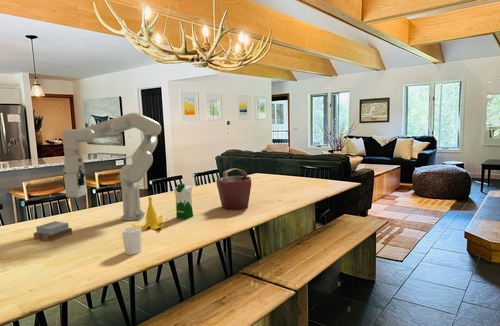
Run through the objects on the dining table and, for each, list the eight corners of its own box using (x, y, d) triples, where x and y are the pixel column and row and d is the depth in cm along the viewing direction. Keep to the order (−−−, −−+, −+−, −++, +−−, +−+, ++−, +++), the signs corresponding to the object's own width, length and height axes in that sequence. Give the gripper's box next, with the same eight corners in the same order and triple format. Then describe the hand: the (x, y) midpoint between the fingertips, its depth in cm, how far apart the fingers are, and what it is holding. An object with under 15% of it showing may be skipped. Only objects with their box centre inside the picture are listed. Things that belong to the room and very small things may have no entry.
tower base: (72, 234, 173) (71, 228, 172) (50, 241, 162) (49, 235, 162) (56, 231, 178) (56, 226, 177) (34, 238, 167) (33, 233, 166)
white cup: (126, 249, 149) (124, 227, 148) (144, 248, 150) (143, 226, 149) (121, 256, 141) (119, 233, 140) (140, 254, 142) (138, 232, 141)
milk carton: (174, 218, 195) (172, 184, 193) (183, 214, 203) (181, 182, 201) (186, 220, 192) (184, 185, 189) (195, 215, 200) (193, 182, 197)
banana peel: (162, 221, 191) (160, 192, 189) (164, 231, 173) (162, 199, 171) (132, 224, 187) (129, 195, 185) (130, 235, 169) (127, 202, 167)
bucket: (230, 213, 202) (228, 172, 199) (209, 207, 219) (207, 169, 216) (260, 206, 218) (259, 168, 215) (238, 200, 235) (237, 165, 232)
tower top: (68, 228, 172) (68, 223, 171) (50, 234, 163) (49, 228, 162) (55, 226, 176) (55, 221, 176) (36, 232, 167) (36, 226, 167)
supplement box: (78, 197, 177) (75, 174, 175) (65, 197, 178) (63, 174, 177) (87, 194, 184) (85, 171, 182) (75, 194, 186) (73, 171, 184)
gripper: (89, 152, 178) (93, 184, 180) (67, 151, 185) (70, 183, 187) (77, 153, 171) (80, 187, 173) (54, 153, 179) (58, 185, 181)
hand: (75, 184), depth 180 cm, fingers closed on supplement box, 8 cm apart
